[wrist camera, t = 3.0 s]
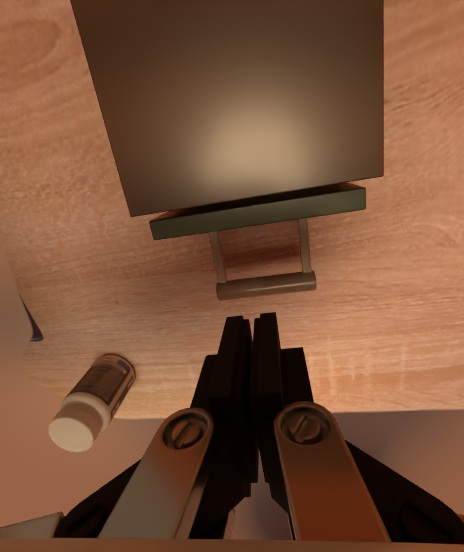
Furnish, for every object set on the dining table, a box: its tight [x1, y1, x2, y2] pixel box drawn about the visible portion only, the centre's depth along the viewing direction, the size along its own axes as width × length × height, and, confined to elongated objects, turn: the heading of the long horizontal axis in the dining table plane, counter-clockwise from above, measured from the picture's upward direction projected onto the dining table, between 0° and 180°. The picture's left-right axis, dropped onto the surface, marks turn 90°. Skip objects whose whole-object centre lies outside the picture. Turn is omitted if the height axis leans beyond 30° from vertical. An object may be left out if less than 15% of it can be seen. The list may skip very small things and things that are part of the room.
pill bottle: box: [48, 355, 135, 452], centre depth 30 cm, size 5×5×8 cm
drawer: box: [149, 182, 366, 301], centre depth 20 cm, size 19×12×8 cm, turn 10°
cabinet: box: [70, 0, 384, 217], centre depth 18 cm, size 15×14×10 cm
